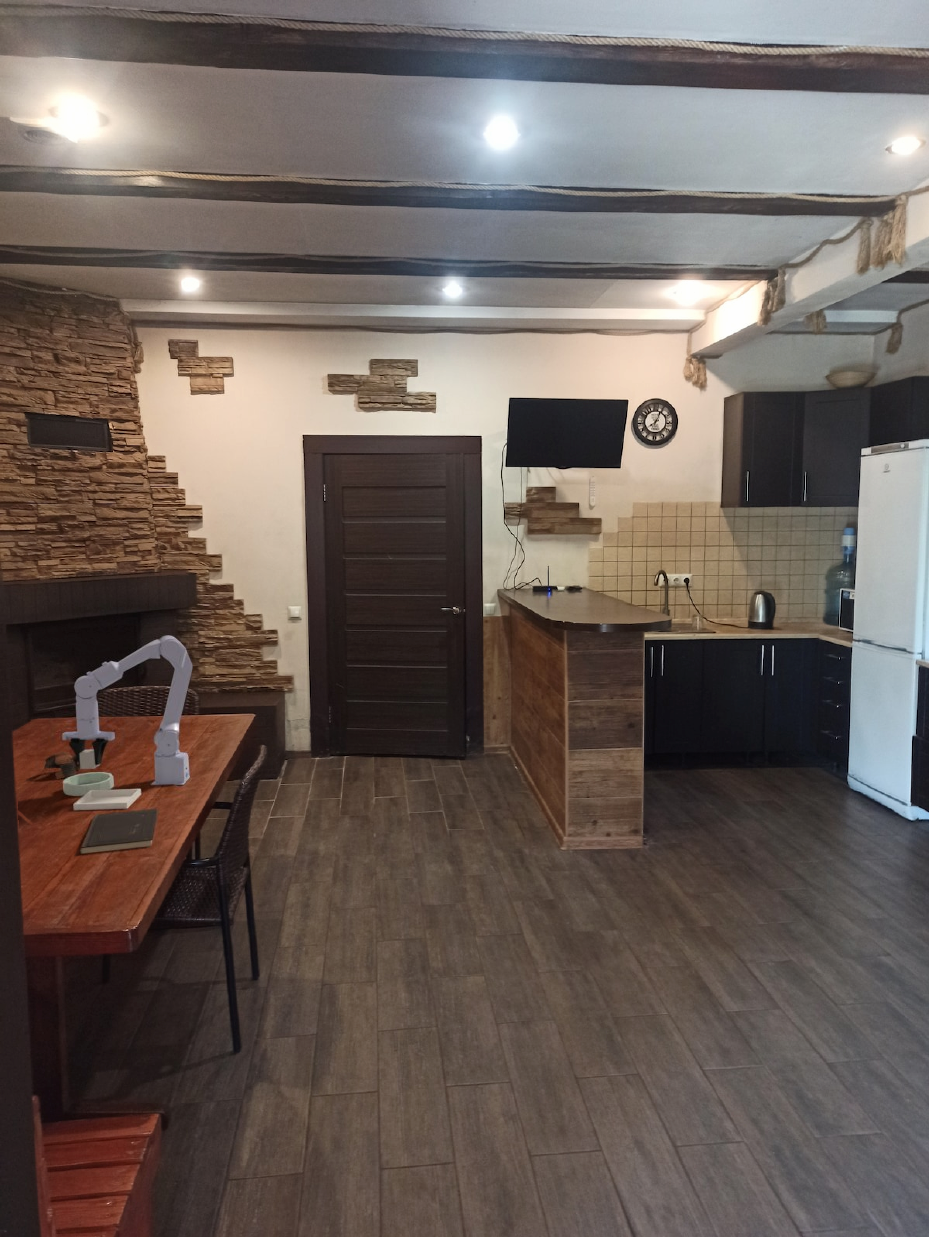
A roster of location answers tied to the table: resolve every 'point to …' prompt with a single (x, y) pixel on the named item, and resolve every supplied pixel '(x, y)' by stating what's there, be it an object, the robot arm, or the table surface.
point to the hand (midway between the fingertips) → (90, 764)
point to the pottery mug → (63, 764)
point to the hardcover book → (120, 831)
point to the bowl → (87, 783)
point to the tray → (107, 799)
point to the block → (87, 759)
